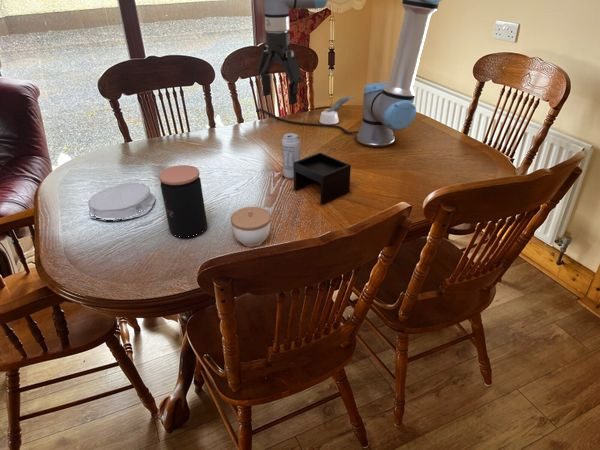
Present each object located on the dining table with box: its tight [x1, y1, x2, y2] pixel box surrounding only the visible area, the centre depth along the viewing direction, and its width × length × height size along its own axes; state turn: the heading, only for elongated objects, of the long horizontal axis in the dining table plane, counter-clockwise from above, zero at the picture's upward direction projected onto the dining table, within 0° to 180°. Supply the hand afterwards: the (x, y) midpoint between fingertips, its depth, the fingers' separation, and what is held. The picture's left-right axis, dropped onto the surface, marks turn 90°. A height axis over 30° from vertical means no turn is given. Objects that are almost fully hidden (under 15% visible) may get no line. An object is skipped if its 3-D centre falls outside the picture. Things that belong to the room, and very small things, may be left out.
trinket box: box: [230, 206, 272, 248], centre depth 122 cm, size 11×11×9 cm
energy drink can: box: [281, 132, 301, 180], centre depth 154 cm, size 6×6×15 cm
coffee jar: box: [158, 164, 208, 240], centre depth 125 cm, size 11×11×18 cm
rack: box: [293, 152, 352, 206], centre depth 146 cm, size 14×12×10 cm
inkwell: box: [318, 95, 355, 125], centre depth 205 cm, size 9×18×10 cm, turn 121°
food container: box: [87, 182, 156, 221], centre depth 140 cm, size 20×20×7 cm
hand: (279, 99), depth 151 cm, fingers open, 13 cm apart
